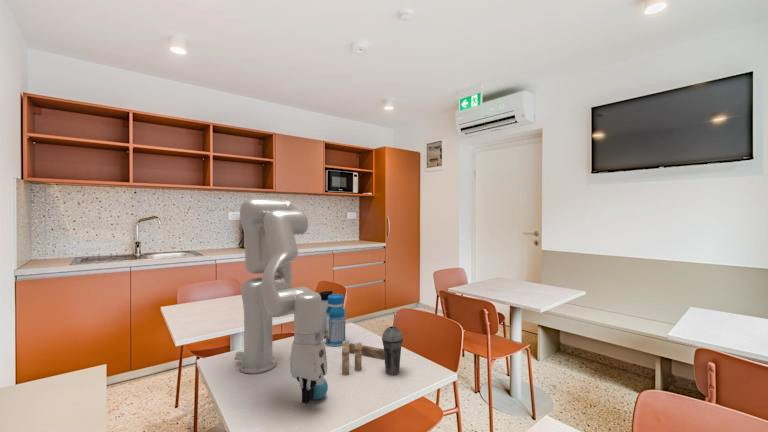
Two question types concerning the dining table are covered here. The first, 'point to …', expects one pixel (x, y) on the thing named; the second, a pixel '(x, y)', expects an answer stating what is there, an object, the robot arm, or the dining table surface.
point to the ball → (320, 390)
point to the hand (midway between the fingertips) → (307, 400)
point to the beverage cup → (392, 349)
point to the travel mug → (324, 310)
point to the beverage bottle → (335, 320)
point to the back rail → (368, 351)
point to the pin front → (345, 360)
